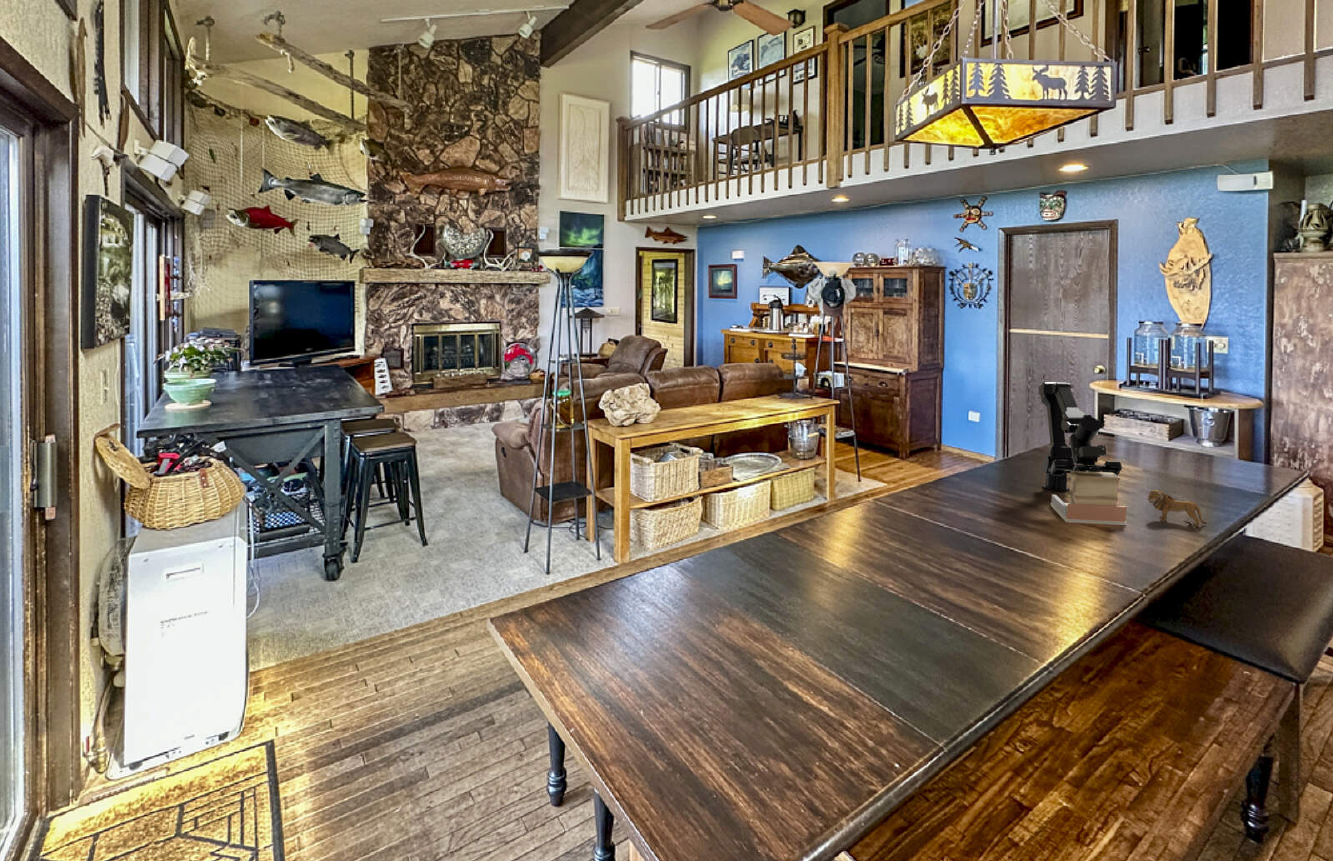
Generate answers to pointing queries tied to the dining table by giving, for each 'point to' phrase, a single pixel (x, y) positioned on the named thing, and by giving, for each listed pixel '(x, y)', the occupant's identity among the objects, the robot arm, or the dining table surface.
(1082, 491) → the cream flanged block
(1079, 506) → the box
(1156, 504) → the lion figurine
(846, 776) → the dining table surface
